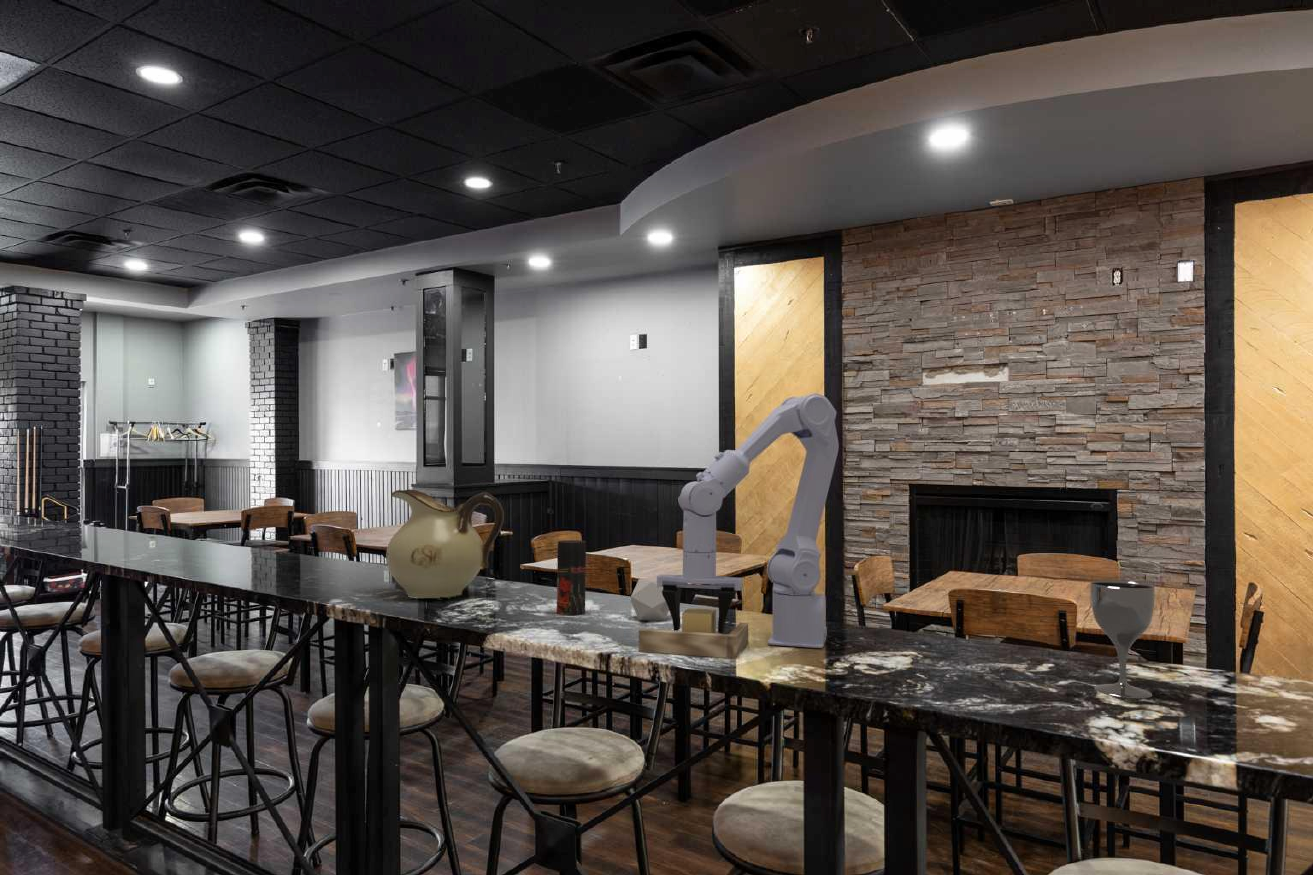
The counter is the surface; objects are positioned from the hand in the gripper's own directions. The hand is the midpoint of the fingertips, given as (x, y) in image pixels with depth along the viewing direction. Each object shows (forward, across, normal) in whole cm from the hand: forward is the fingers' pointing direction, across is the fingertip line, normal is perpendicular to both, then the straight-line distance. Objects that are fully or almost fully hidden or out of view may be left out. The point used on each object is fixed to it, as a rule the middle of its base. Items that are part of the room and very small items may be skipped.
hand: (698, 630), depth 141 cm
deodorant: (+3, +32, -26) cm, 41 cm away
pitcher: (+3, +70, -38) cm, 79 cm away
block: (+3, 0, 0) cm, 3 cm away
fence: (+3, +1, 0) cm, 3 cm away
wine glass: (+3, -63, +11) cm, 64 cm away
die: (+3, +14, -24) cm, 28 cm away
